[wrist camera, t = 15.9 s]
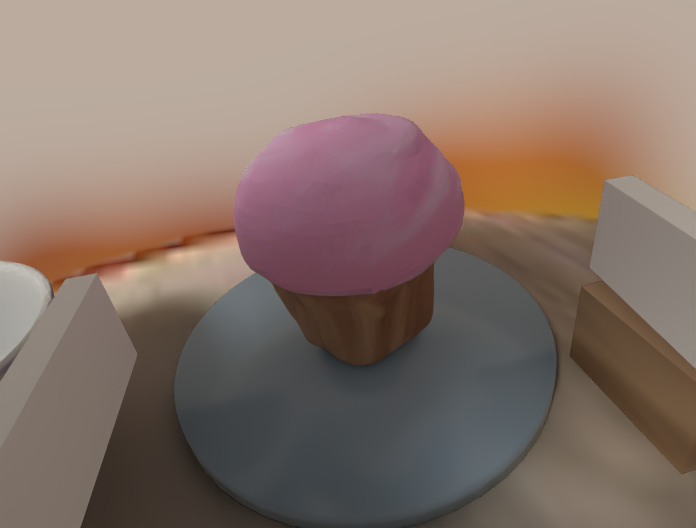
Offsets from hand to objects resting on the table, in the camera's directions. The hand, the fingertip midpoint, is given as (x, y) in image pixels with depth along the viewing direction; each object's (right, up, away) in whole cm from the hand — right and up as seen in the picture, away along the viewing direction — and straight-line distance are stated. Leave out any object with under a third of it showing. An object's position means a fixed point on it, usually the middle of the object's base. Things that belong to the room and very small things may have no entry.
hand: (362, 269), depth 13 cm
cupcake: (0, -3, +10) cm, 10 cm away
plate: (0, -4, +10) cm, 11 cm away
